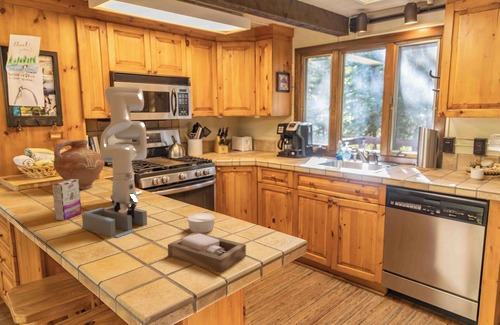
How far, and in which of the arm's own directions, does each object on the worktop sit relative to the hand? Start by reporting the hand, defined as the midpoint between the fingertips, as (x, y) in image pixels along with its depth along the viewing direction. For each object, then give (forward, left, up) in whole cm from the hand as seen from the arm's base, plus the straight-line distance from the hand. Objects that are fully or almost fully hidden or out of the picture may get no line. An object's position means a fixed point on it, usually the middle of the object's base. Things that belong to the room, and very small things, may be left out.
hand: (124, 216), depth 142 cm
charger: (+6, +49, -3) cm, 50 cm away
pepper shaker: (0, 0, -4) cm, 4 cm away
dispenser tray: (+6, +49, -3) cm, 49 cm away
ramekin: (-13, +31, -4) cm, 34 cm away
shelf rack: (+4, 0, -3) cm, 5 cm away
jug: (-30, -79, -4) cm, 85 cm away
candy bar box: (+7, -30, -4) cm, 31 cm away
